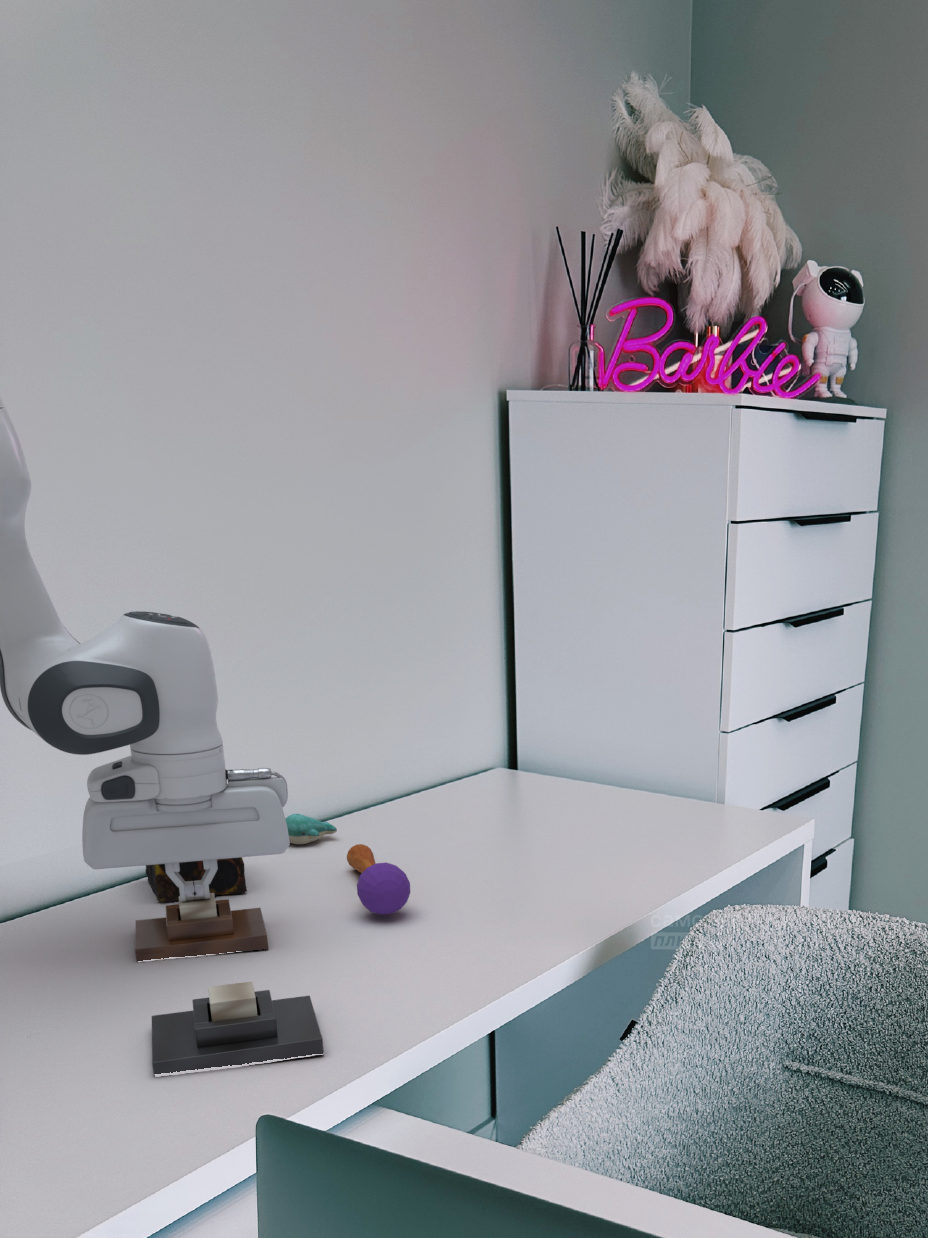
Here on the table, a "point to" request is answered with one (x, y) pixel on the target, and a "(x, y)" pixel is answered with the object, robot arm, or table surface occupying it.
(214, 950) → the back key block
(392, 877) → the purple maraca
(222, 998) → the front key
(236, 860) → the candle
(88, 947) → the table surface
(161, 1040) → the dark grey socket base
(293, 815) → the whale figurine
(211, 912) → the back key
